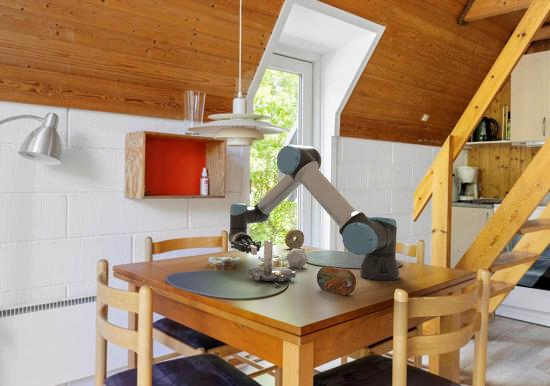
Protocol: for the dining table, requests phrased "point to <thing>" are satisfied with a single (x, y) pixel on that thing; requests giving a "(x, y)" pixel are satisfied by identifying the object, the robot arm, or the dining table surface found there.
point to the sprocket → (270, 267)
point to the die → (297, 258)
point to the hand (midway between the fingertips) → (254, 251)
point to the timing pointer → (276, 284)
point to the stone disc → (297, 242)
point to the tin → (336, 280)
